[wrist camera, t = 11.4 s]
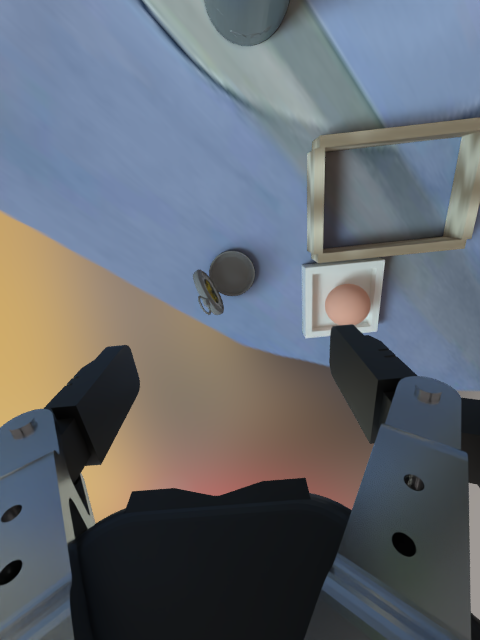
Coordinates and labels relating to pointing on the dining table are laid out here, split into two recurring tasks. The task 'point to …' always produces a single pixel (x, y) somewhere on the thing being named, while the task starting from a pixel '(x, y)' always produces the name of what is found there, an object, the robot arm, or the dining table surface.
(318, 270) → the dish
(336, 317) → the ball
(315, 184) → the beige rectangular frame
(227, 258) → the pocket watch
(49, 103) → the dining table surface
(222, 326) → the dining table surface
